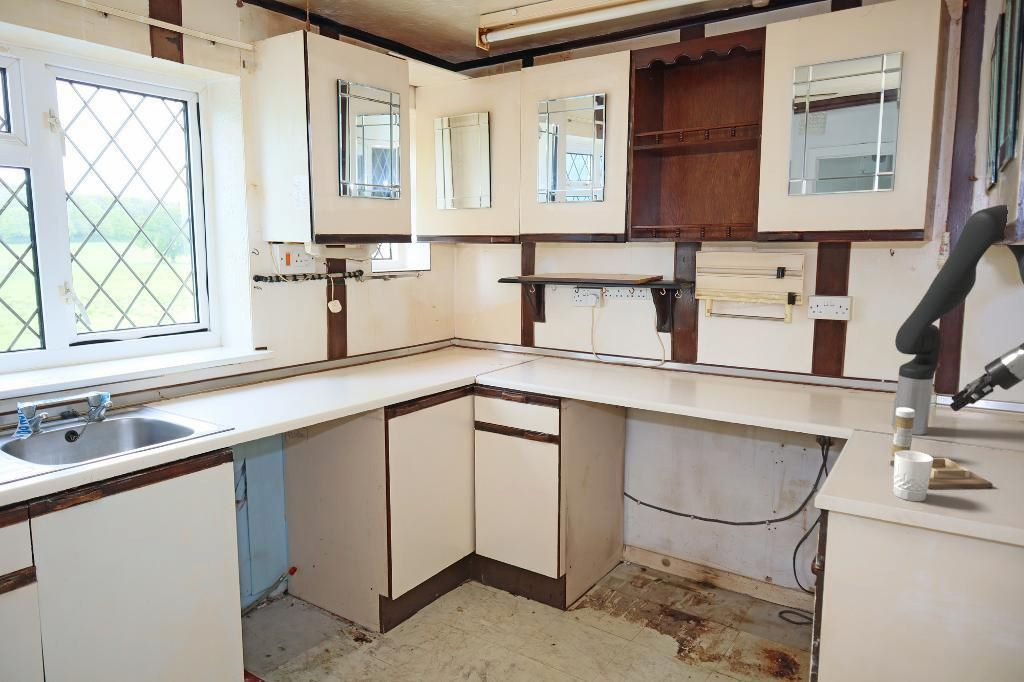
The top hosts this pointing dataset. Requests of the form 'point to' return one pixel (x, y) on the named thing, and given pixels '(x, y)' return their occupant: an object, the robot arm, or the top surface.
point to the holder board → (953, 476)
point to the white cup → (911, 475)
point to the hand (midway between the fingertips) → (953, 404)
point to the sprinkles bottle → (903, 429)
